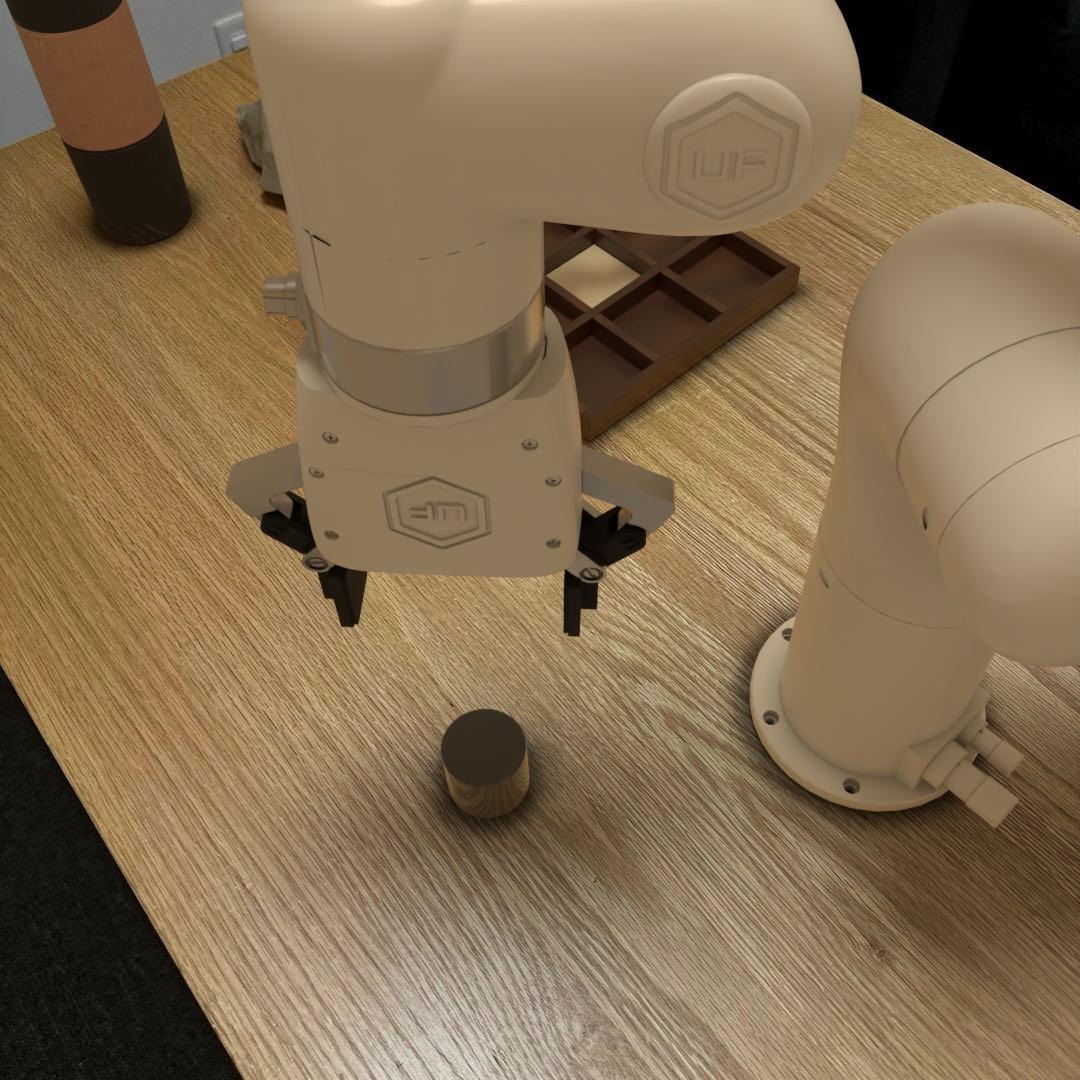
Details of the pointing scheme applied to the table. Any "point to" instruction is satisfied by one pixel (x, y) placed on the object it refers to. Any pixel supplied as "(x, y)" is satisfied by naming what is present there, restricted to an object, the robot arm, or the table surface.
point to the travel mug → (107, 113)
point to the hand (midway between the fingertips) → (463, 604)
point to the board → (651, 307)
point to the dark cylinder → (485, 763)
